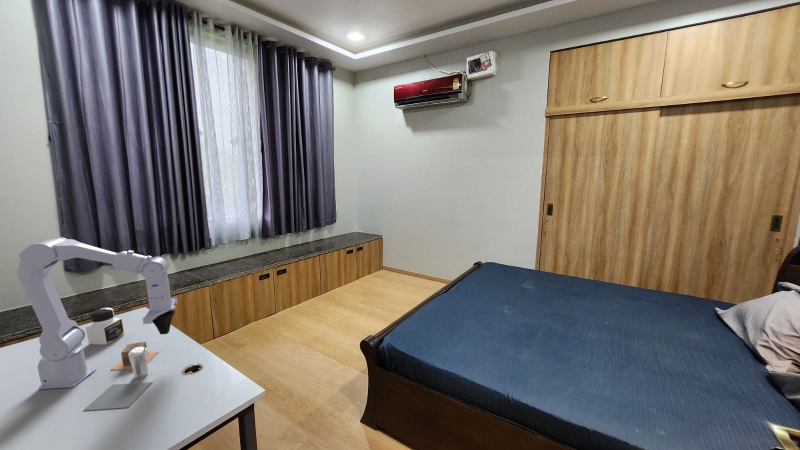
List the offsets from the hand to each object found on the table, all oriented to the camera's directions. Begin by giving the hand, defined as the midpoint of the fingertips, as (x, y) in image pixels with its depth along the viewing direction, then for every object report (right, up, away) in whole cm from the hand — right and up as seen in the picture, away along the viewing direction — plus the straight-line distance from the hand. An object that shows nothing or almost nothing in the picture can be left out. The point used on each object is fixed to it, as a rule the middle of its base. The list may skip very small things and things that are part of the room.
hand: (164, 333), depth 102 cm
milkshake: (-3, -12, -5) cm, 13 cm away
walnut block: (-11, -10, +2) cm, 15 cm away
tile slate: (-2, -13, -14) cm, 19 cm away
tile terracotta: (-11, -10, +2) cm, 15 cm away
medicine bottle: (-33, -8, +14) cm, 37 cm away
